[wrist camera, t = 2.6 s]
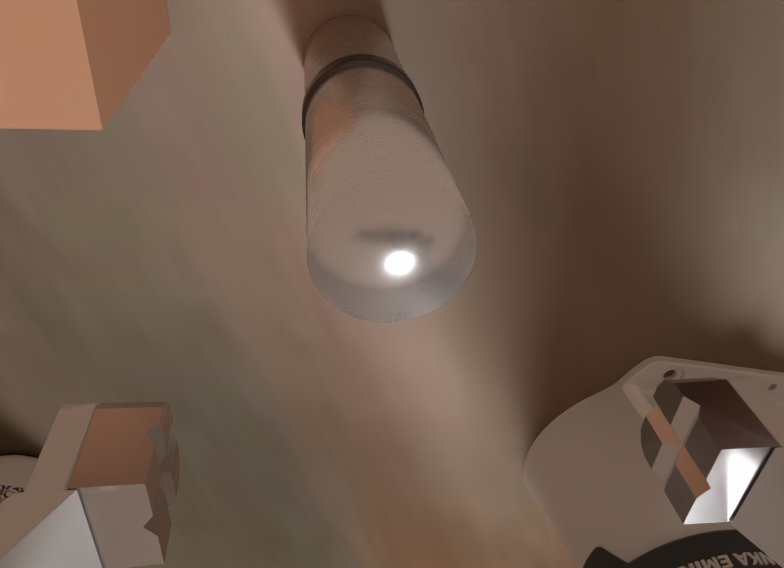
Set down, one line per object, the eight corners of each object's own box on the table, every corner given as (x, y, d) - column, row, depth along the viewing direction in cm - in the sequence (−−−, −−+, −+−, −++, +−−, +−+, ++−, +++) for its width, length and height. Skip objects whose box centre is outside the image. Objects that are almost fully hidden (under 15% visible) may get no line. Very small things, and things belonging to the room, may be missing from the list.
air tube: (401, 14, 27) (493, 172, 14) (394, 111, 29) (469, 323, 16) (301, 10, 27) (300, 170, 13) (302, 109, 29) (304, 327, 16)
